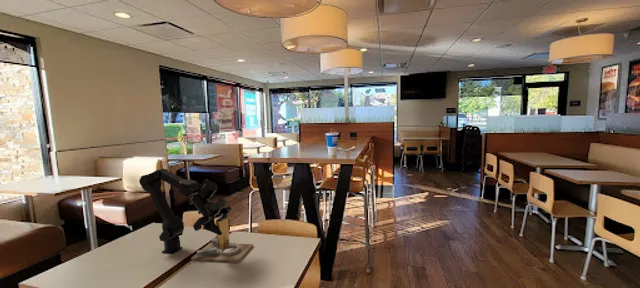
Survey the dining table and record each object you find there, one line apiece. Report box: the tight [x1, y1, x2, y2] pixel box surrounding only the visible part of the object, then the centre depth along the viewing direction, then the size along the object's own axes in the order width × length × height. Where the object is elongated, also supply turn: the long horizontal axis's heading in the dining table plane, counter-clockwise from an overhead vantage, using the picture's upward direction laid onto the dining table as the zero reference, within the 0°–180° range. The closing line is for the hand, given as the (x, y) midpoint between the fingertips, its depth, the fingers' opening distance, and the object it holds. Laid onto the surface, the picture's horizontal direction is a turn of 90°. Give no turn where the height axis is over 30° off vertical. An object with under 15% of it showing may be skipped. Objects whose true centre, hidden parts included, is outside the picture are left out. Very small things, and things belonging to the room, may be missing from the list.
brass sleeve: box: [215, 217, 230, 249], centre depth 121 cm, size 5×5×12 cm
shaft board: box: [190, 237, 254, 264], centre depth 128 cm, size 22×16×3 cm
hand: (225, 232), depth 121 cm, fingers closed on brass sleeve, 5 cm apart
